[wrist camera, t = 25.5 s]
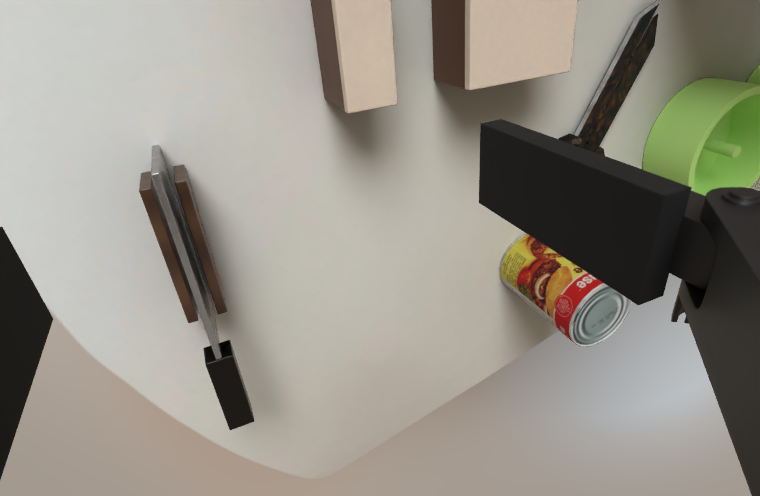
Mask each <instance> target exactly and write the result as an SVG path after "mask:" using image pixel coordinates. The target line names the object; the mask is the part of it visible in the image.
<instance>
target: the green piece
mask: <svg viewBox="0 0 760 496" xmlns="http://www.w3.org/2000/svg"><path fill="white" fill-rule="evenodd" d="M643 170H645V171H647V172H650V173H653V174H656V175H659V176H661V177H664V178H667V179H670V180H673V181H675V182H678V183H681V184H684V185H687V186H689V187H692V188H691V191H694V192H696V193H699V194H702V195H705V196H706V193H707V192H709V191H710V190H712V189H716V188H721V187H745V188H751V187H752V186H753V184H754V183H755V182H756V181H757V179H758V178H759V177H760V65H759V66H758V67H757V68H756V69H755V70H754V72H753V73H752V74H751V76H750V77H749V79H748V81H747V83H745V82H738V81H731V80H724V79H718V78H703V79H700V80H697V81H694V82H693V83H691V84H689V85H687V86H686V87H684V88H683V89H682V90H681V91H679V92H678V93H677V94H676V95H675V96H674V97H673V98H672V99H671V100H670V101H669V102H668V103H667V105H666V106H665V107H664V109H663V110H662V112H661V113H660V114H659V116H658V118H657V120H656V121H655V123H654V125H653V127H652V129H651V132H650V134H649V136H648V139H647V142H646V146H645V150H644V156H643Z"/></svg>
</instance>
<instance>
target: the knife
mask: <svg viewBox="0 0 760 496" xmlns="http://www.w3.org/2000/svg"><path fill="white" fill-rule="evenodd" d="M659 3H660V0H656V1H655V2H654V3H653V4H651V5H650V6H649V7H647V8H646V9H645V10H644V11H642V12H641V13H640V14H638V15H637V16H636V18H635V19H634V21H633V23H632V25H631V27H630V29H629V31H628V33H627V35H626V37H625V39H624V40H623V42H622V44H621V46H620V48H619V50H618V52H617V54H616V56H615V58H614V60H613V62H612V63H611V65H610V67H609V69H608V71H607V73H606V75H605V77H604V79H603V81H602V83H601V84H600V86H599V88H598V90H597V92H596V94H595V96H594V98H593V100H592V102H591V104H590V105H589V107H588V109H587V111H586V113H585V115H584V117H583V119H582V121H581V123H580V125H579V126H578V128H577V130H576V132H575V134H574V135H572V134H568V135H565V136H563V137H561V138H559V140H561V141H564V142H566V143H569V144H572V145H575V146H578V147H581V148H583V149H586V150H589V151H592V152H594V153H597V154H600V155H603V156H605V155H604V149H603V148H601V147H599V146H600V144H601V142H602V140H603V138H604V136H605V135H606V133H607V131H608V129H609V127H610V125H611V123H612V122H613V120H614V118H615V116H616V114H617V112H618V111H619V109H620V107H621V105H622V103H623V101H624V100H625V98H626V96H627V94H628V92H629V90H630V89H631V87H632V85H633V83H634V81H635V79H636V78H637V76H638V74H639V72H640V70H641V68H642V67H643V65H644V63H645V61H646V59H647V57H648V56H649V54H650V52H651V50H652V48H653V46H654V43H655V35H656V27H657V20H658V14H657V15H656V16H654V17H653V19H652V21H651V23H650V25H649V27H648V29H647V30H646V32H645V34H644V36H643V38H642V40H641V42H640V43H639V45H638V47H637V49H636V51H635V53H634V55H633V57H632V54H633V52H634V50H635V48H636V46H637V44H638V42H639V41H640V39H641V37H642V35H643V33H644V31H645V29H646V27H647V26H648V24H649V22H650V20H651V18H652V16H653V14H654V12H655V11H656V9H657V7H658V5H659ZM627 63H629V64H628V66H627V68H626V70H625V72H624V73H623V75H622V77H621V79H620V81H619V83H618V85H617V86H616V84H617V82H618V80H619V78H620V76H621V74H622V72H623V71H624V69H625V67H626V65H627ZM615 86H616V88H615V90H614V92H613V94H612V96H611V98H610V100H609V101H608V99H609V97H610V95H611V93H612V91H613V89H614V87H615ZM607 101H608V103H607V105H606V107H605V109H604V111H603V113H601V112H602V110H603V108H604V106H605V104H606V102H607ZM597 120H598V122H597V124H596V126H595V128H594V130H593V131H592V129H593V127H594V125H595V123H596V121H597ZM591 131H592V133H591V135H590V137H589V139H588V136H589V134H590V132H591Z"/></svg>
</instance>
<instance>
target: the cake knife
mask: <svg viewBox="0 0 760 496" xmlns="http://www.w3.org/2000/svg"><path fill="white" fill-rule="evenodd" d="M151 177H152V180H153V183H154V186H155V188H156V191H157V194H158V197H159V200H160V203H161V205H162V208H163V211H164V214H165V217H166V220H167V222H168V225H169V228H170V231H171V234H172V236H173V239H174V242H175V245H176V248H177V251H178V253H179V256H180V259H181V262H182V265H183V268H184V270H185V273H186V276H187V279H188V282H189V285H190V287H191V290H192V293H193V296H194V299H195V302H196V304H197V307H198V310H199V313H200V316H201V319H202V321H203V324H204V327H205V330H206V333H207V336H208V338H209V341H210V344H211V346H209V347H206V348H204V356H205V364H206V367H207V370H208V372H209V375H210V378H211V380H212V383H213V386H214V389H215V391H216V394H217V397H218V399H219V402H220V405H221V407H222V410H223V413H224V416H225V418H226V421H227V424H228V426H229V429H230V430H232V429H235V428H238V427H240V426H243V425H246V424H248V423H251V422H254V416H253V412H252V408H251V403H250V400H249V397H248V394H247V391H246V388H245V385H244V382H243V379H242V376H241V373H240V370H239V366H238V363H237V360H236V357H235V354H234V351H233V348H232V345H231V342H230V340H228V341H225V342H221V343H220V342H219V336H218V331H217V325H216V319H215V313H214V309H213V306H212V303H211V300H210V297H209V294H208V291H207V288H206V285H205V282H204V279H203V276H202V273H201V270H200V267H199V264H198V261H197V258H196V255H195V252H194V249H193V246H192V243H191V240H190V237H189V234H188V231H187V228H186V225H185V222H184V219H183V216H182V213H181V210H180V207H179V204H178V201H177V198H176V195H175V192H174V189H173V186H172V183H171V180H170V177H169V174H168V171H167V168H166V165H165V162H164V159H163V156H162V153H161V150H160V147H159V145H156V146H152V161H151Z"/></svg>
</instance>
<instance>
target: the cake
mask: <svg viewBox="0 0 760 496" xmlns="http://www.w3.org/2000/svg"><path fill="white" fill-rule="evenodd" d="M577 4H578V0H432V26H433V62H434V80H437V81H440V82H443V83H446V84H450V85H453V86H456V87H460V88H463V89H467V90H475V89H481V88H486V87H491V86H496V85H502V84H507V83H512V82H517V81H523V80H528V79H533V78H538V77H544V76H549V75H554V74H559V73H565V72H569V71H570V68H571V59H572V50H573V41H574V31H575V22H576V13H577Z"/></svg>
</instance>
